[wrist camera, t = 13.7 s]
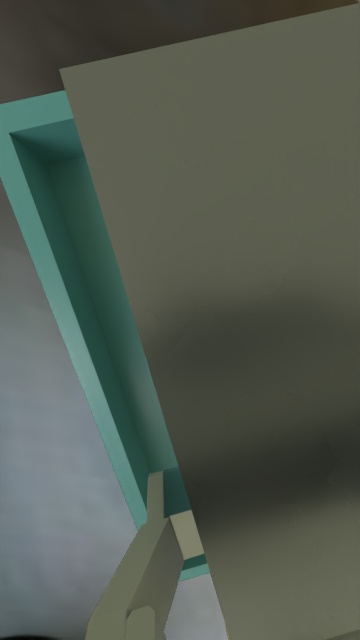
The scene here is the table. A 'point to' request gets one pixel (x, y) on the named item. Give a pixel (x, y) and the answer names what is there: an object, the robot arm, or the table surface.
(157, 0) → the table surface
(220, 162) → the strut
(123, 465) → the bin
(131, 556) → the robot arm
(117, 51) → the table surface
